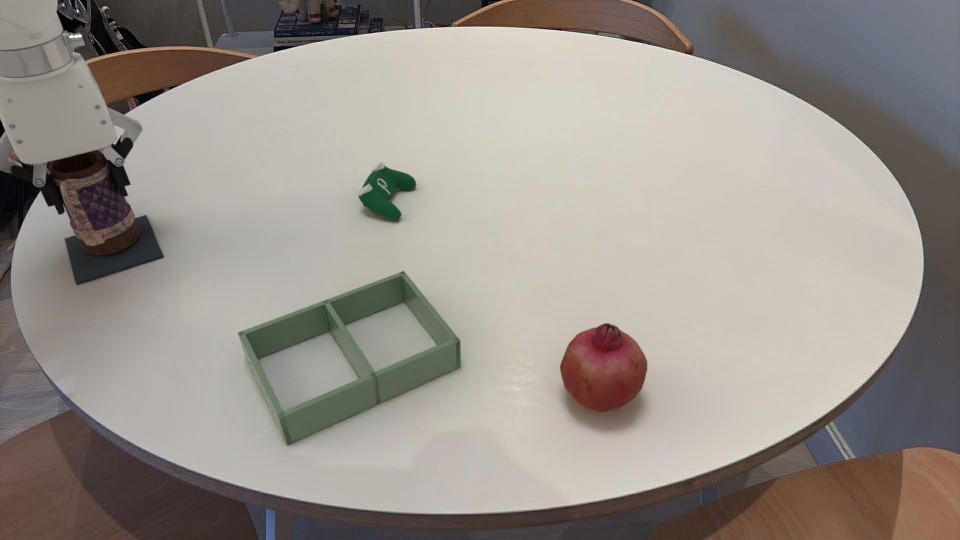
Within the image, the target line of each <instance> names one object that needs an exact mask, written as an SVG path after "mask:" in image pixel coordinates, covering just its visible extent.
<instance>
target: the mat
mask: <svg viewBox="0 0 960 540" xmlns="http://www.w3.org/2000/svg"><path fill="white" fill-rule="evenodd" d="M135 220H136V222H137V224H138V227H139V229H140V235H139V237H138V239H137V240H136V241H135V242H134V243H133V244H132V245H131V246H130V247H128V248H127V249H125V250H123V251H120V252H118V253H115V254H111V255H102V256H99V255H92V254H89V253H87V252H85V251H84V250H83V249H82V247H81V245H80V242H79V240H78V238H77V237H76V236H75V235H71V236H68V237H65V238H64V243H65V246H66V251H67V255H68V258H69V262H70V266H71V271H72V275H73V278H74V283H75V285H80V284H84V283H86V282H89V281H94V280H96V279H100V278H103V277H106V276H110V275H112V274H115V273H118V272H121V271H125V270H127V269H131V268H135V267H137V266H140V265H144V264H147V263H150V262H153V261H156V260H160V259H163V258H165V256H164V254H163V252H162V249H161V246H160V244H159V241H158V239H157V236H156V234H155V232H154V229H153V227H152V225H151V222H150V219H149V218H148V214H144V215H140V216H137V217H135Z"/></svg>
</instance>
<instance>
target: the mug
mask: <svg viewBox="0 0 960 540" xmlns="http://www.w3.org/2000/svg"><path fill="white" fill-rule="evenodd" d="M108 160H109V159H108V158H107V157H106V156H105V155H104V154H103V153H102V152H100V151H99V150H95V151H91V152H87V153H83V154H79V155H75V156H71V157H67V158H63V159H59V160H55V161H51V162H49V165H48V170H49V175H51V178H52V180H53V182H54V184H55V186H56V188H57V191H58V193H59V195H60V197H61V199H62V202H63V205H64V209H65V213H66V214H67V216H68V218H69V226H70V227H71V231H73V235H74V236H76V237H77V238H78V240H79V242H80V245H81V247H82V249H83V250H84V251H85V252H87V253H89V254H92V255H99V256H102V255H111V254H115V253H118V252H120V251H123V250H125V249H127V248H128V247H130V246H131V245H132V244H133V243H134V242H135V241H136V240H137V239H138V237H139V235H140V229H139V227H138V224H137V222H136V220H135V218H136V215H135V213H134V210H133V208H132V206H131V204H130V203H129V202H128V201H127V199H126V197H124V196H121V193H120V191H119V188H118V186H117V183H116V181H115V178H114V176H113V173H112V171H111V168H110V165H109V163H108Z"/></svg>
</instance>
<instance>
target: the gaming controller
mask: <svg viewBox="0 0 960 540" xmlns="http://www.w3.org/2000/svg"><path fill="white" fill-rule="evenodd" d="M416 186H417V181H416V179H415V178H414V177H413V176H412V175H410V173H409V174H408V173H406V172H403V171H400V170H396V169H392V168H389V167H387V165H385V164H384V163H383V162H382V161H381V162H380V163H378V164H376V165H375V166H374V167H373V168H372V170H371V172H370V173H369V175H368V177H367V178H366V179H365V181H364V183H363V185H362V187H361V188H360V190H358V191H359V192H358V200H359V201H360V202H361V203H362V206H364V208H367V209H368V210H369V211H370V212H372V213H374V214H376V215H378V216H380V217H383V218H385V219H388V220H392V221H399V220H400V218H401V217H402V212H401V210H400V209H399V208H398V207H397V205H395V204H394V203H392V202H391V201H390V198H391V196H392V195H393V193H394V191H395V190H403V191H411V190H415V188H416Z"/></svg>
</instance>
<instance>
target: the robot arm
mask: <svg viewBox="0 0 960 540" xmlns="http://www.w3.org/2000/svg"><path fill="white" fill-rule="evenodd" d="M58 1H59V0H0V121H1V123H2V126H3V129H4V132H3V134H2V135H1V137H0V171H2V172H5V173H8V174H11V175H12V176H13V177H15V178H18V179H20V180H23V181H26V182H28V183H30V184H31V183H32V185H34V186H35V187H37V188H38V189H39V191H40V194H41V195H42V197H43V199H44V201H45V203H46V205H47V207H48V208H49V207H50V208H51V207H53V206H54V208H55V210H56V213H57V214H58V215H59V216H60V215H64V214H65V213H66V209H65V207H64V205H63V202H62V199H61V197H60V195H59V193H58V191H57V188H56V186H55V184H54V182H53V180H52V178H51V175H50V174H49V173H48V172H47V169H48V163H51V162H52V161H55V160H59V159H63V158H67V157H71V156H75V155H79V154H83V153H87V152H91V151H95V150H99V151H100V152H102V153H103V154H104V156H105V157H106V158H107V160H108V163H109V165H110V168H111V171H112V173H113V176H114V178H115V181H116V183H117V186H118V188H119V191H120V193H121V196H124V197H125V198H126V197H129V193H128V190H127V189H126V187H128V186H131V181H130V178H129V176H128V173H127V171H126V168H125V166H124V165H125V162H126V159H127V158H128V156H129V154H130V153H131V151H132V149H133V148H134V144H135V142H136V141H137V140H138V138H139V136H140V135H141V134H142V131H143V126H142V124H141V122H140V121H139V120H137V119H134V118H132V117H130V116H128V115H126V114H124V113H121V112H119V111H117V110H115V109H113V108H110V107H108V105H107V103H106V101H105V99H104V96H103V95H102V92H101V90H100V87H99V85H98V83H97V80H96V78H95V76H94V74H93V72H92V71H91V69H90V67H89V65H88V64H87V61H85V59H84V58H83V56H82V55H81V53H79V52H76V50H75V49H79V48H80V47H85V46H86V43H85V41H84V39H83V35H82V33H81V32H76V33H73V32H68V30H64V27H63V25H62V22H61V20H60V18H59V15H58V13H57V10H58ZM115 126H116V127H118V128H120V129H122V130H124V131H123V134H122V135H120V136H119V138H118V134H117V130H116V127H115ZM12 151H14V152H15V155H16V157H17V158H18V160H14V159H13V158H10V155H11V153H12Z"/></svg>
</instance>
